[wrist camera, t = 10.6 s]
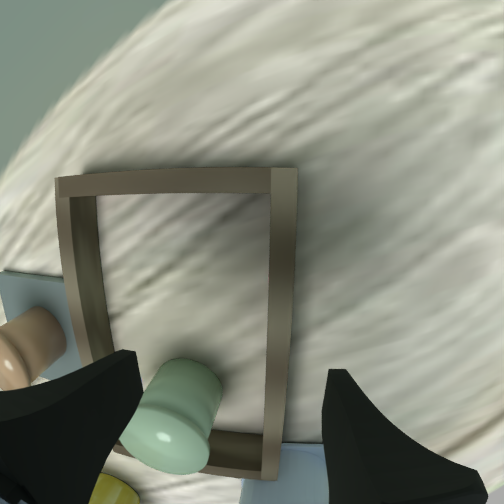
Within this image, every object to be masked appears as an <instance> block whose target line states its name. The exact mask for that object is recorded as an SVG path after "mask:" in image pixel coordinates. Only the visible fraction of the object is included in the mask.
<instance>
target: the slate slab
mask: <svg viewBox="0 0 504 504" xmlns="http://www.w3.org/2000/svg"><path fill="white" fill-rule="evenodd" d="M0 294H1V298H2V303H3V307H4V311H5V315H6V319H7V322H9V321H10V320H12V319H13V318H15V317H17V316H18V315H20V314H22V313H23V312H25V311H27V310H28V309H30V308H32V307H34V306H40V307H43V308H45V309H46V310H48V311H49V312H50V313H51V314H52V315H53V316H54V317H55V318H56V319H57V321H58V322H59V324H60V325H61V327H62V329H63V331H64V334H65V337H66V344H67V346H66V351H65V353H64V355H63V356H61V357H60V358H59V359H58V360H57V361H56V362H55V363H53V364H52V365H51V366H50V367H49V368H48V369H47V370H45V371H44V372H43V373H42V374H41V375H40V377H43V378H46V379H49V380H54V379H57V378H59V377H62V376H64V375H66V374H69V373H71V372H74V371H76V370H78V369H80V368H83V367H82V364H81V360H80V356H79V352H78V348H77V344H76V340H75V335H74V331H73V327H72V322H71V317H70V312H69V307H68V302H67V296H66V290H65V284H64V278H58V277H49V276H41V275H33V274H25V273H17V272H9V271H2V272H0Z"/></svg>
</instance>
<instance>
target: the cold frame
mask: <svg viewBox="0 0 504 504" xmlns="http://www.w3.org/2000/svg"><path fill="white" fill-rule="evenodd" d="M297 186H298V168H280V167H199V168H169V169H149V170H132V171H118V172H105V173H94V174H83V175H73V176H64V177H58V178H55V200H56V216H57V228H58V239H59V248H60V256H61V264H62V271H63V278H64V284H65V290H66V296H67V302H68V307H69V312H70V317H71V322H72V327H73V331H74V335H75V340H76V344H77V348H78V352H79V356H80V360H81V364H82V367H85V366H87V365H89V364H91V363H93V362H95V361H97V360H99V359H101V358H103V357H105V356H108V355H110V354H112V353H114V347H113V342H112V337H111V331H110V326H109V320H108V314H107V307H106V301H105V294H104V287H103V279H102V271H101V262H100V252H99V242H98V229H97V214H96V196H100V195H123V194H156V193H266V194H271V210H270V258H269V296H268V328H267V357H266V383H265V407H264V429H263V435H257V434H246V433H236V432H227V431H219V430H211V432H210V435H209V438H208V442H209V445H210V455H209V458H208V461H207V464H206V465H205V467H204V468H203V469H201V470H200V471H198V472H199V473H205V474H212V475H218V476H226V477H234V478H242V479H252V480H264V481H277V479H278V470H279V461H280V452H281V443H282V433H283V423H284V413H285V402H286V391H287V379H288V366H289V353H290V339H291V324H292V308H293V291H294V271H295V249H296V222H297ZM113 451H114V452H116V453H119V454H122V455H126V456H129V457H133V458H135V457H134V456H133V455H131V454H130V453H129V452H128V451H127V450H126V448H125V447H124V446H123V445H122V443H121V442H120V440H119V439H118V441H117V442H116V444H115V446H114V447H113Z"/></svg>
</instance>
